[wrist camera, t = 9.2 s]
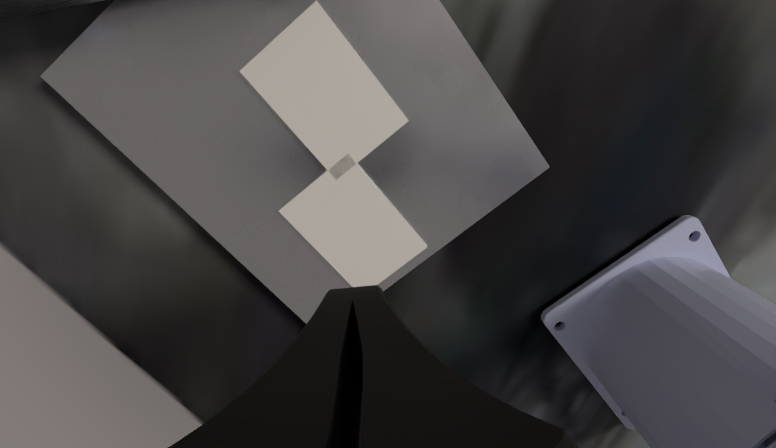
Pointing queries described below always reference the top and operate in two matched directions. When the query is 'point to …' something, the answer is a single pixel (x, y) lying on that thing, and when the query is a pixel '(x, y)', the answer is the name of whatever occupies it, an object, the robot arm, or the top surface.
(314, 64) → the psu label
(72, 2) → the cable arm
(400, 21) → the lid
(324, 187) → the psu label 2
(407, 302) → the top surface
